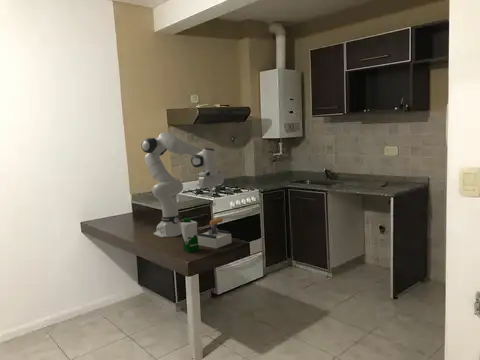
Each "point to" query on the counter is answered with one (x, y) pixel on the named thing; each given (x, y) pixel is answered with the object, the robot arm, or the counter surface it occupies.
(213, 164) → the robot arm
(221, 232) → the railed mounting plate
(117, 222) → the counter surface
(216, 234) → the box
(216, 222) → the lever
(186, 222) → the milk carton
